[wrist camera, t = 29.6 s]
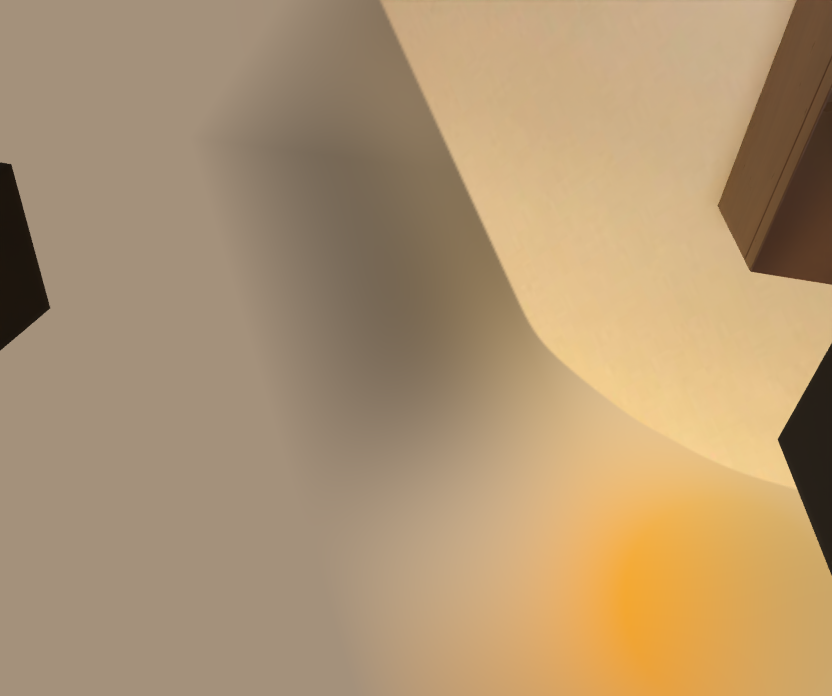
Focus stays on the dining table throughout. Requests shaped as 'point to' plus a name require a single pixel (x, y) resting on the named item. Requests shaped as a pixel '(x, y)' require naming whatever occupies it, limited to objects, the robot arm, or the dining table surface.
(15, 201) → the robot arm
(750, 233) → the shelf
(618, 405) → the dining table surface
